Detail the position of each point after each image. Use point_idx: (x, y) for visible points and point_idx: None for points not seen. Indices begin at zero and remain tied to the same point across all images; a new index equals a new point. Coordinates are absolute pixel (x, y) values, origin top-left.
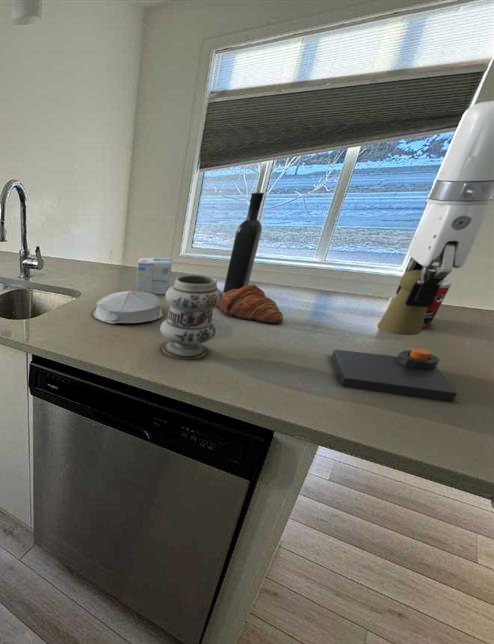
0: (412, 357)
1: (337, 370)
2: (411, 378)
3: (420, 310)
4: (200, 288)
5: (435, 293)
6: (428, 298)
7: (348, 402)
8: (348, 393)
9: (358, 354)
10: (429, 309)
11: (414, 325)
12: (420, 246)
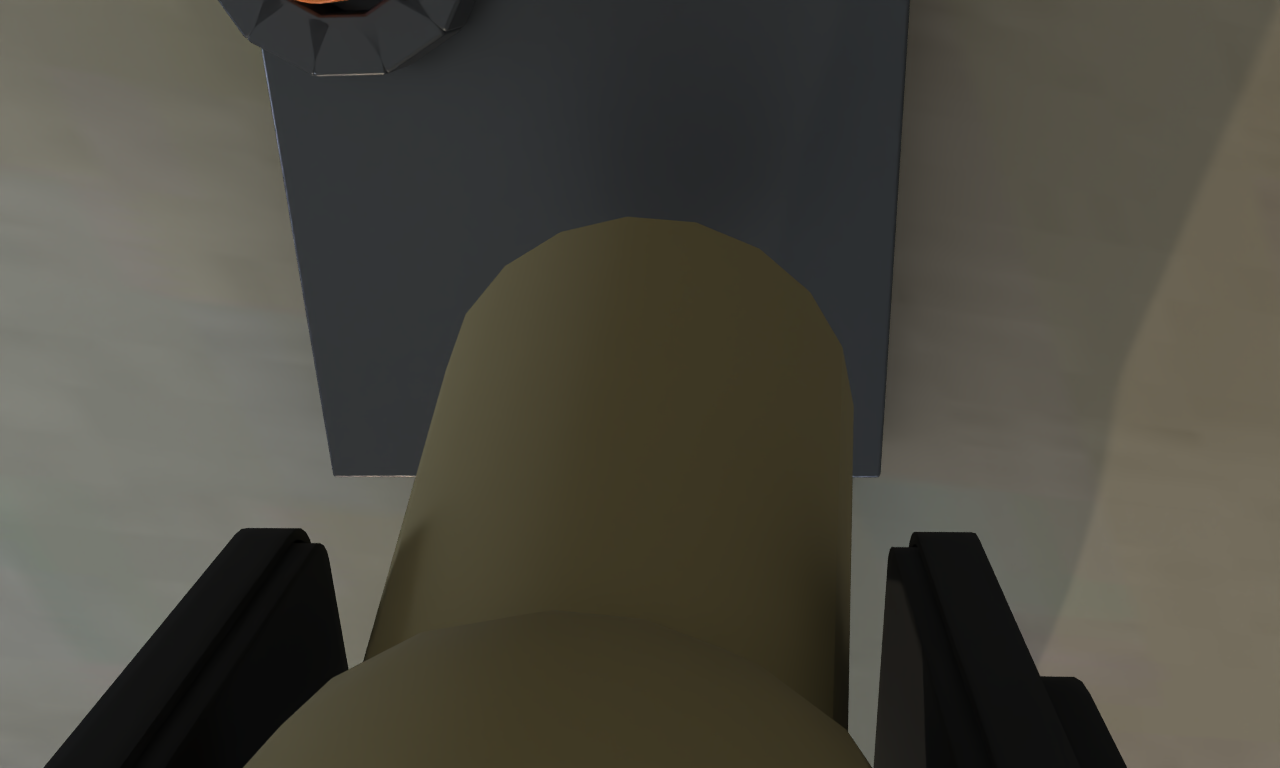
0: None
1: None
2: (727, 33)
3: (823, 508)
4: None
5: (1044, 715)
6: (1102, 736)
7: (1120, 438)
8: (976, 420)
9: (363, 330)
10: None
11: (841, 400)
12: None
